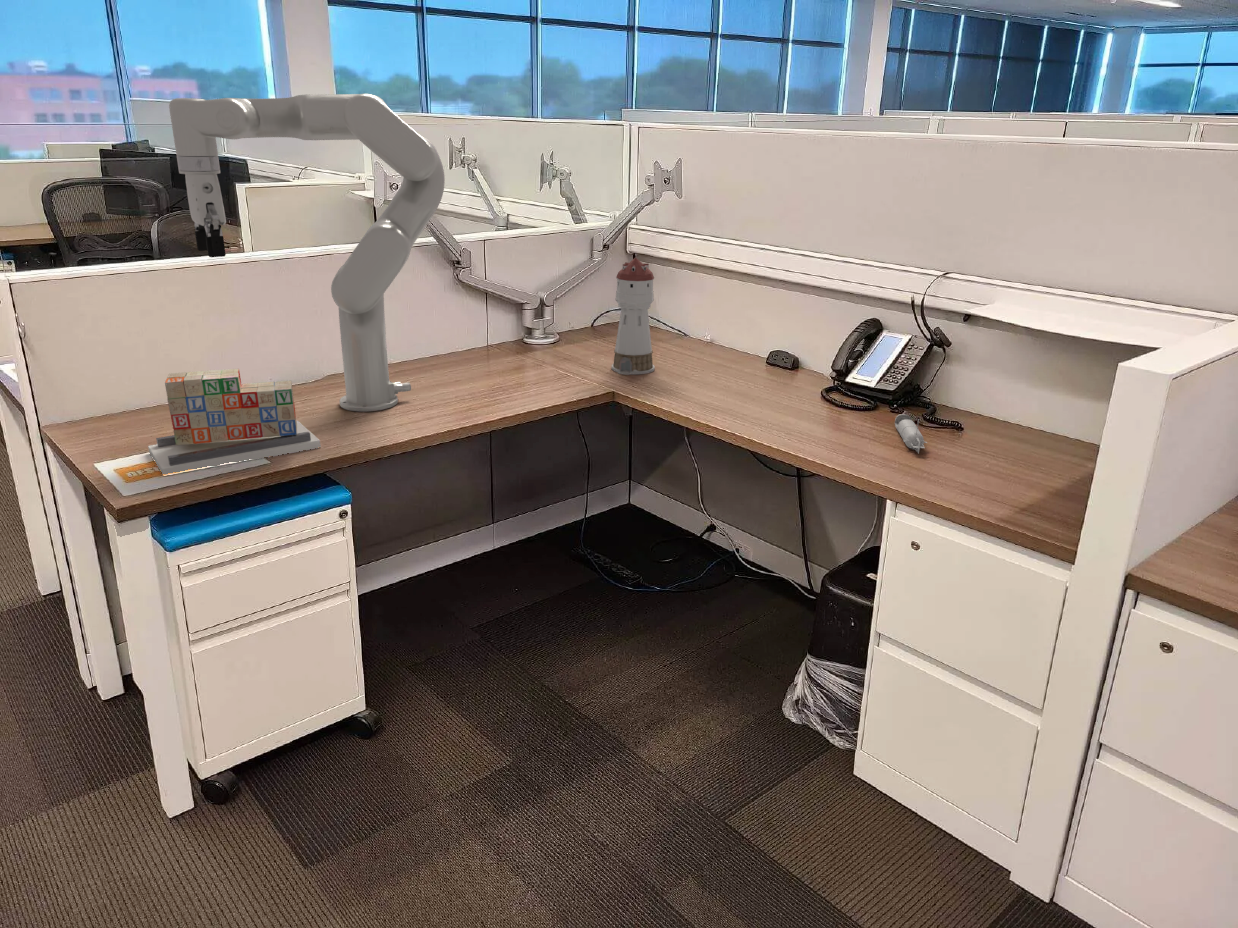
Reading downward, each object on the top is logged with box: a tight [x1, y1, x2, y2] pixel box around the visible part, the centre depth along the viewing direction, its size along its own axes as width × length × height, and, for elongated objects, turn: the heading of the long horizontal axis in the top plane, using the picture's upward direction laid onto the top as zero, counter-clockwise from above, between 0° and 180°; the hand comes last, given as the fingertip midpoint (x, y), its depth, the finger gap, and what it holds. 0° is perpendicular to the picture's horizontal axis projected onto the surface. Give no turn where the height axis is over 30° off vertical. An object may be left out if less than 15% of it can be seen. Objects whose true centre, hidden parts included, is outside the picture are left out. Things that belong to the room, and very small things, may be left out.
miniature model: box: [611, 253, 656, 376], centre depth 226 cm, size 11×12×30 cm
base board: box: [147, 420, 322, 475], centre depth 171 cm, size 28×14×3 cm, turn 125°
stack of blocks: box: [164, 368, 298, 445], centre depth 168 cm, size 21×6×12 cm, turn 108°
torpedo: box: [894, 413, 928, 454], centre depth 184 cm, size 18×5×6 cm, turn 175°
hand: (211, 253), depth 183 cm, fingers open, 9 cm apart
